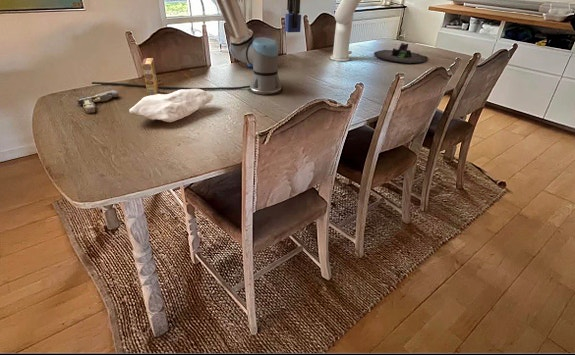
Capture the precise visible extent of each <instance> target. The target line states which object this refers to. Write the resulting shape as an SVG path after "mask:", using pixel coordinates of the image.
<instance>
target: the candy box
mask: <svg viewBox="0 0 575 355" xmlns="http://www.w3.org/2000/svg"><path fill="white" fill-rule="evenodd" d="M141 66H142V73H143V78H144V82H145V85H146V87H145V88H146V92H147V96H150V95H156V94H159V91H160V90H159V88H158V86H159V84H158V79H157V73H156V66H155V62H154V58H153V57H151V58H150V57H149V58H146V57H145V58H143V60H142V63H141Z"/></svg>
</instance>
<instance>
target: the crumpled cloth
mask: <svg viewBox="0 0 575 355" xmlns="http://www.w3.org/2000/svg"><path fill="white" fill-rule="evenodd" d="M213 97H214V96H213V94H212V93H210V92H208V91H207V90H202V89H176V90H175V91H173V92H171V93H167V94H163V93H158V94H156V95H150V96H148V95H146V96H144V97H142V98H141V99H140V100H139V101H138V102H137V103H136V104H134V105H133V106H132V107H131V108H129V114H130V115H135V116H140V117H145V118H146V119H149V120H152V121H155V120H158V121H163V122H166V123H174V122H176V121H178V120H181V119H183V118H185V117H188V116H190V115H192V114H193V113H195V112H196V111H197V110H199V109H200V108H202V107H204V106H206V105H207V104H210V102H211V101H212V100H213V99H214V98H213Z"/></svg>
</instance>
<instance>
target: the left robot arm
mask: <svg viewBox="0 0 575 355" xmlns="http://www.w3.org/2000/svg"><path fill="white" fill-rule="evenodd" d="M286 1H287V2H286V3H287V5H286V11H287V12H288V14H292V28H297V20H298V14H300V13H301V0H286ZM216 3H217V5H218V8H219V9H220V13H221V15H222V18H223V20H224V22H225V24H226V27H227V30H228V32H229V34H230V36H229V46H228V47H229V48H228V49H229V52H230V54H231V56H232V57H233V58H234V59H236V60H237V61H239V62H242V63H244V64H245V63H246V64H247V63H248V64H251V65H253V68H252V69H253V70H252V77H251V81H250V83H249V85H244V86H243V85H242V86H222V87H220V86H219V87H218V86H217V87H188V86H187V87H182V86H162V85H158V89H167V90H181V89H202V90H204V91H208V90H209V91H210V90H214V91H215V90H241V89H249V91H250V92H251V93H253V94H255V95H261V96H271V95H277V94H279V93H281V92H282V85H281V81H280V78H279V52H280V50H279V45H278V42H277V41H276V40H275V39H273V38H269V37H262V36H261V37H260V36H259V37H255V35H254V31H253V29H250V28H249V27H248V24H247V22H246V19H245V16H244V14H243V11H242V9H241V6H240V4H239V0H216ZM91 84H92V85H113V86H127V87H128V86H129V87H139V88H146V84H138V83H125V82H109V81H107V82H105V81H92V82H91Z"/></svg>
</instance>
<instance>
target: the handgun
mask: <svg viewBox="0 0 575 355" xmlns="http://www.w3.org/2000/svg"><path fill="white" fill-rule="evenodd" d="M119 96H120V94H119V92H118V91H117V90H116V89H112V90H108V91H105V92H104V91H103V92H101V93H96V94H94V95H86V94H85V95H84V94H83V95H81V96H80V97H77V98H76V101H77V104H78V105H82V108H83V109H84V110H85V113H87V114H91V113H95V112H96V104H95V103H98V102H106V101H109V100H111V99H113V98H117V97H119Z"/></svg>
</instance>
